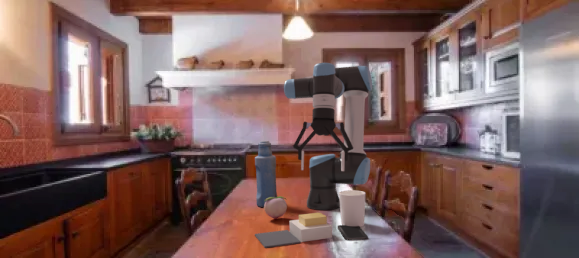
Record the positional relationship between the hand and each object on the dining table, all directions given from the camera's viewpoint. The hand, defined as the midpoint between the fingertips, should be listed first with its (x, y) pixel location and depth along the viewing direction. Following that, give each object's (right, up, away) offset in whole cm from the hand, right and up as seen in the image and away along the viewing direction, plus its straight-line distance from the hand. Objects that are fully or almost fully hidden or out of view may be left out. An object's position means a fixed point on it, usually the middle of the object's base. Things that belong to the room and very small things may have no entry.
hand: (322, 170), depth 130 cm
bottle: (-22, -22, +50) cm, 58 cm away
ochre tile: (-3, -18, +3) cm, 19 cm away
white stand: (-4, -22, +3) cm, 23 cm away
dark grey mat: (-15, -23, -1) cm, 28 cm away
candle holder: (+12, -22, +14) cm, 29 cm away
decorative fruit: (-16, -22, +24) cm, 37 cm away
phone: (+11, -23, +4) cm, 25 cm away
